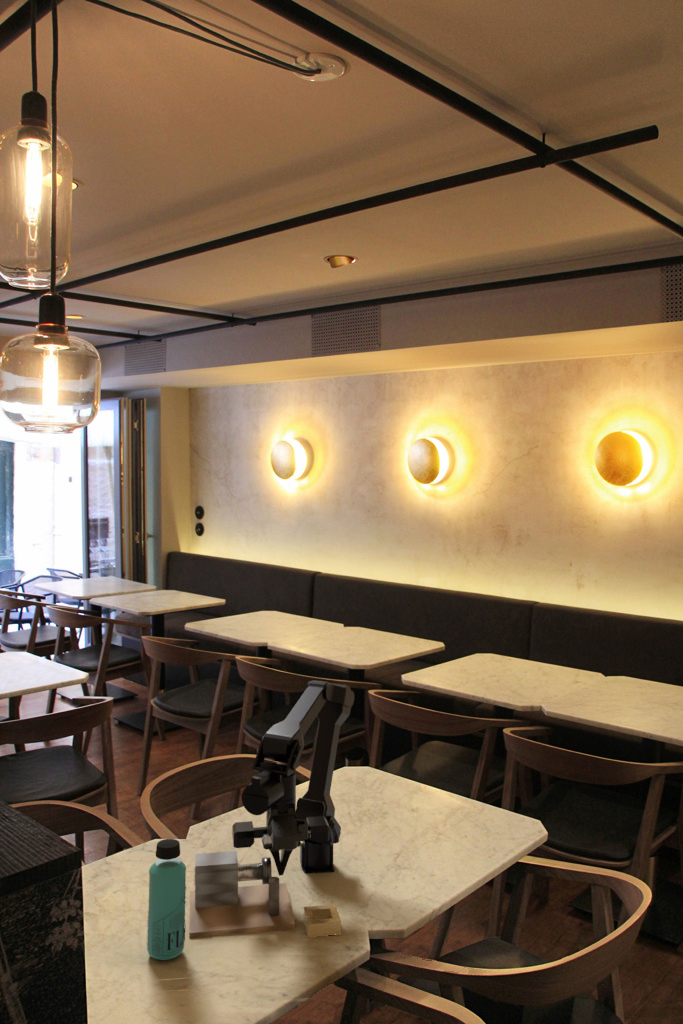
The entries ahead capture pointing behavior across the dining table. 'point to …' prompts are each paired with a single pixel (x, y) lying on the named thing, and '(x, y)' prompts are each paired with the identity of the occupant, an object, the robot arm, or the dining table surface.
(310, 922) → the frame
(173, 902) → the beverage bottle
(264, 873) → the shaft
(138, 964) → the dining table surface
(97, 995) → the dining table surface
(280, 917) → the shaft stand
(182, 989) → the dining table surface
